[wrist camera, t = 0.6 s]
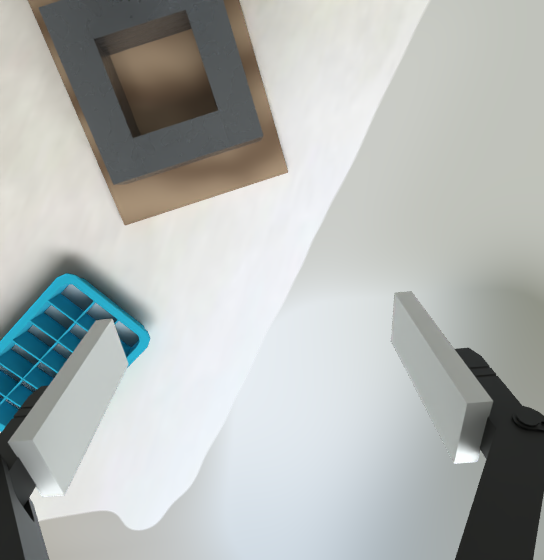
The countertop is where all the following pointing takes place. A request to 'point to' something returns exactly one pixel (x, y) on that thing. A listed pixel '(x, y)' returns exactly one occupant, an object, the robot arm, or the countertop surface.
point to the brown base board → (181, 119)
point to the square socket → (110, 95)
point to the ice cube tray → (35, 315)
